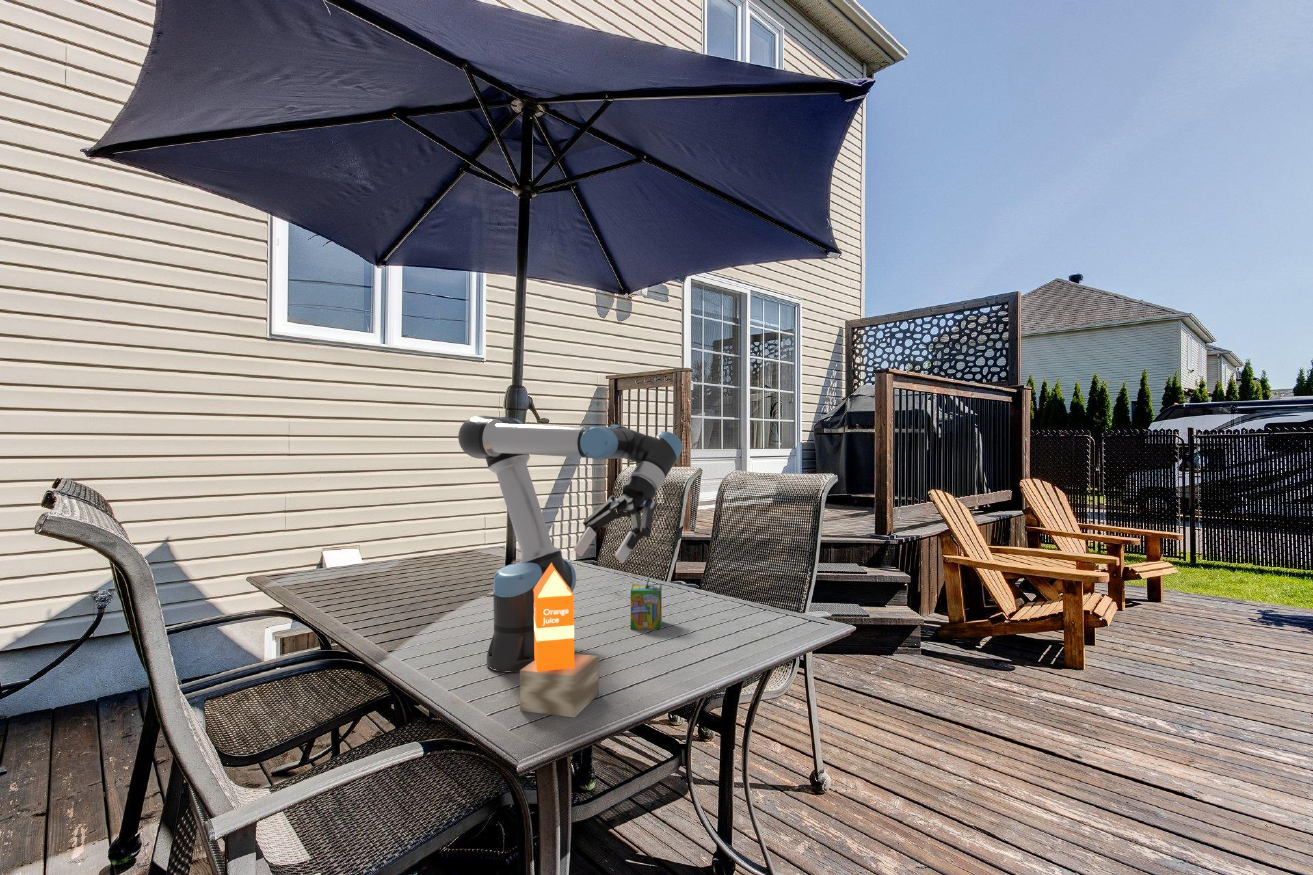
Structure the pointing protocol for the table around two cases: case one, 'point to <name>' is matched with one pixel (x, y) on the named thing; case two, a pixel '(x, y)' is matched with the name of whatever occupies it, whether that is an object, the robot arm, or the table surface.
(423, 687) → the table surface
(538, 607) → the orange juice
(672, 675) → the table surface
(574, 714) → the birch block
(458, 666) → the table surface
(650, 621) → the chalk box
